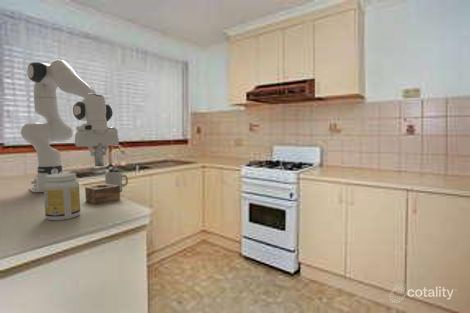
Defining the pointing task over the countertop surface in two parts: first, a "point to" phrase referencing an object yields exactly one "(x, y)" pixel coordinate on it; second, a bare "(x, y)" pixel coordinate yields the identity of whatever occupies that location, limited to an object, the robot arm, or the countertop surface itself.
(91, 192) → the bore block
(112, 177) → the mug
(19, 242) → the countertop surface
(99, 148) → the cylinder
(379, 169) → the countertop surface
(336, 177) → the countertop surface
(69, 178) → the supplement tub
